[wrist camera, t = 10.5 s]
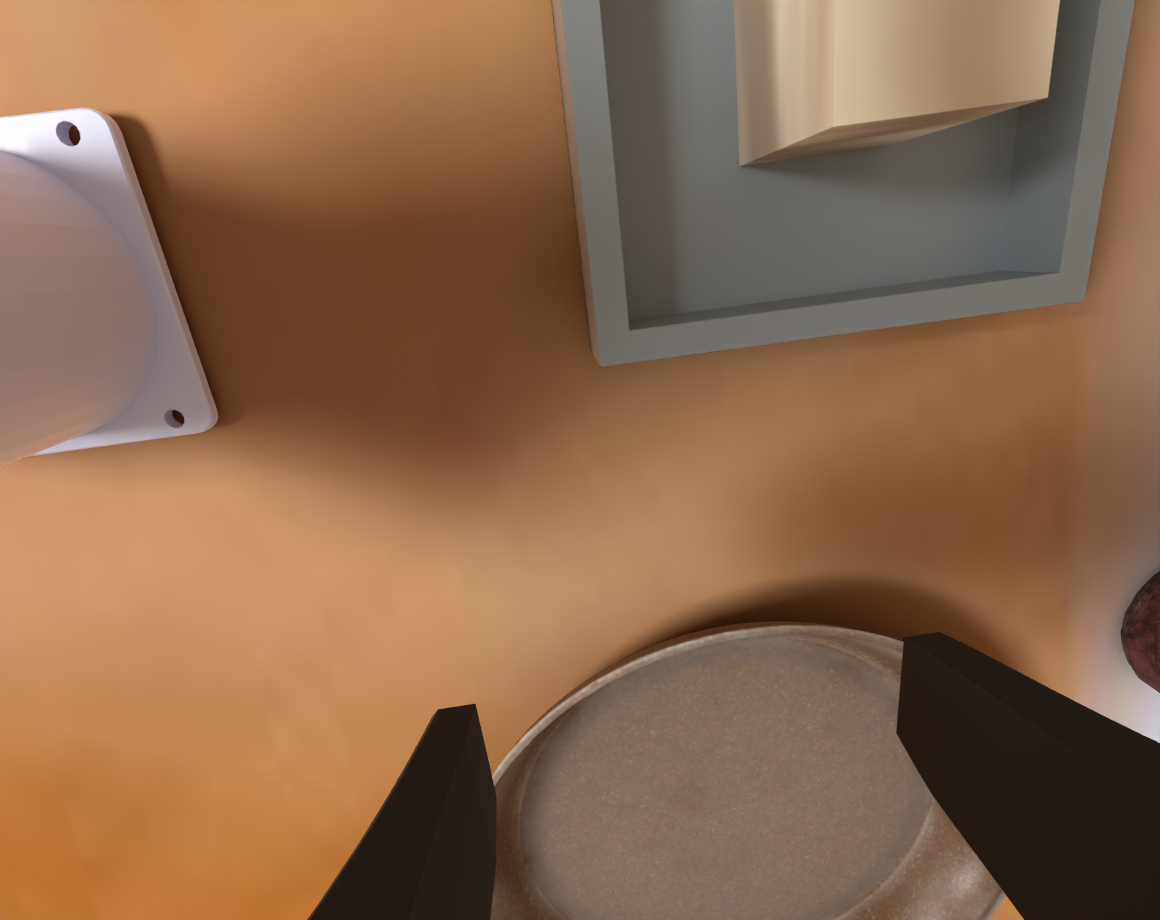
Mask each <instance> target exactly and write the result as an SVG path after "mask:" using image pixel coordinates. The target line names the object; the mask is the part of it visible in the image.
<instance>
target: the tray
mask: <svg viewBox="0 0 1160 920" xmlns="http://www.w3.org/2000/svg"><path fill="white" fill-rule="evenodd" d="M551 4H552V13H553V22H554V31H555V39H556V48H557V57H558V66H559V74H560V83H561V92H562V101H563V109H564V118H565V127H566V135H567V144H568V153H569V162H570V170H571V179H572V188H573V197H574V205H575V214H576V223H577V232H578V240H579V249H580V258H581V267H582V275H583V284H584V293H585V301H586V310H587V319H588V328H589V336H590V345H591V352H592V354H593V355H594V357H595V358H596V360H597V362H598V363H599V365H600V367H605V366H613V365H620V364H627V363H635V362H642V361H649V360H657V359H664V358H671V357H679V356H686V355H694V354H701V353H708V352H716V351H723V350H730V349H738V348H745V347H752V346H760V345H767V344H774V343H782V342H789V341H796V340H804V339H811V338H818V337H826V336H833V335H840V334H848V333H855V332H863V331H870V330H877V329H885V328H892V327H899V326H907V325H914V324H921V323H929V322H936V321H943V320H951V319H958V318H965V317H973V316H980V315H987V314H995V313H1002V312H1009V311H1017V310H1024V309H1032V308H1039V307H1046V306H1054V305H1061V304H1068V303H1076V302H1083V301H1085V295H1086V289H1087V283H1088V277H1089V272H1090V266H1091V260H1092V254H1093V248H1094V242H1095V236H1096V230H1097V224H1098V218H1099V212H1100V206H1101V200H1102V194H1103V188H1104V182H1105V176H1106V170H1107V164H1108V159H1109V153H1110V147H1111V141H1112V135H1113V129H1114V123H1115V117H1116V111H1117V105H1118V99H1119V93H1120V87H1121V81H1122V75H1123V69H1124V63H1125V57H1126V51H1127V46H1128V40H1129V34H1130V28H1131V22H1132V16H1133V10H1134V4H1135V0H1060V3H1059V11H1058V19H1057V27H1056V35H1055V44H1054V52H1053V60H1052V68H1051V76H1050V84H1049V92H1048V98H1045V99H1042V100H1038V101H1035V102H1032V103H1028V104H1025V105H1022V106H1019V107H1015V108H1012V109H1009V110H1005V111H1002V112H999V113H995V114H992V115H989V116H986V117H982V118H979V119H976V120H972V121H969V122H966V123H962V124H959V125H956V126H953V127H949V128H946V129H943V130H939V131H936V132H933V133H929V134H926V135H923V136H920V137H916V138H913V139H910V140H906V141H903V142H900V143H896V144H893V145H890V146H883V147H876V148H869V149H862V150H854V151H847V152H840V153H832V154H825V155H818V156H811V157H803V158H796V159H789V160H781V161H774V162H767V163H760V164H752V165H745V166H739V138H738V109H737V81H736V52H735V23H734V0H551Z"/></svg>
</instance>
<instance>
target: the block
mask: <svg viewBox="0 0 1160 920" xmlns="http://www.w3.org/2000/svg"><path fill="white" fill-rule="evenodd" d="M1059 3H1060V0H734V23H735V52H736V81H737V109H738V138H739V166H745V165H752V164H760V163H767V162H774V161H781V160H789V159H796V158H803V157H811V156H818V155H825V154H832V153H840V152H847V151H854V150H862V149H869V148H876V147H883V146H890V145H893V144H896V143H900V142H903V141H906V140H910V139H913V138H916V137H920V136H923V135H926V134H929V133H933V132H936V131H939V130H943V129H946V128H949V127H953V126H956V125H959V124H962V123H966V122H969V121H972V120H976V119H979V118H982V117H986V116H989V115H992V114H995V113H999V112H1002V111H1005V110H1009V109H1012V108H1015V107H1019V106H1022V105H1025V104H1028V103H1032V102H1035V101H1038V100H1042V99H1045V98H1048V92H1049V84H1050V76H1051V68H1052V60H1053V52H1054V44H1055V35H1056V27H1057V19H1058V11H1059Z"/></svg>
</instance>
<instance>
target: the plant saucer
mask: <svg viewBox="0 0 1160 920" xmlns="http://www.w3.org/2000/svg"><path fill="white" fill-rule="evenodd" d="M902 655H903V641H900V640H897V639H893V638H890V637H887V636H883V635H879V634H876V633H871V632H867V631H863V630H858V629H854V628H849V627H843V626H836V625H829V624H820V623H809V622H790V621H766V622H752V623H741V624H733V625H727V626H722V627H716V628H711V629H706V630H702V631H698V632H693V633H689V634H685V635H682V636H679V637H676V638H673V639H670V640H667V641H664V642H661V643H658V644H656V645H653V646H651V647H648V648H646V649H644V650H641V651H639V652H637V653H635V654H633V655H630V656H628V657H626V658H624V659H622V660H621V661H619V662H617V663H615V664H613V665H611V666H609V667H608V668H606V669H604V670H603V671H601V672H599V673H598V674H596V675H594V676H593V677H591V678H590V679H588V680H587V681H585V682H584V683H582V684H581V685H579V686H578V687H577V688H575V689H574V690H572V691H571V692H570V693H568V694H567V695H566V696H565V697H563V698H562V699H561V700H560V701H558V702H557V703H556V704H555V705H554V706H552V707H551V708H550V709H549V710H548V711H547V712H546V713H545V714H543V715H542V716H541V717H540V718H539V719H538V720H537V721H536V722H535V723H534V724H533V725H532V726H531V727H530V728H529V729H528V730H527V731H526V732H525V734H524V735H523V736H522V737H521V738H520V739H519V740H518V742H517V743H516V744H515V745H514V746H513V748H512V749H511V750H510V752H509V753H508V754H507V755H506V757H505V758H504V759H503V761H502V762H501V763H500V765H499V766H498V767H497V769H496V770H495V771H494V773H493V774H492V779H493V783H494V787H495V792H496V796H497V834H496V871H495V880H494V890H493V900H492V909H491V918H490V920H990V919H991V917H992V916H993V914H994V913H995V911H996V910H997V909H998V907H999V906H1000V904H1001V903H1002V901H1003V899H1004V897H1005V895H1006V894H1005V893H1004V892H1003V890H1002V889H1001V888H1000V886H999V885H998V884H997V882H996V881H995V880H994V878H993V877H992V875H991V874H990V873H989V871H988V870H987V869H986V867H985V866H984V865H983V863H982V862H981V861H980V859H979V858H978V857H977V855H976V854H975V853H974V851H973V850H972V849H971V847H970V846H969V845H968V843H967V842H966V841H965V839H964V838H963V837H962V835H961V834H960V832H959V831H958V830H957V828H956V827H955V826H954V824H953V823H952V822H951V820H950V819H949V817H948V816H947V815H946V813H945V812H944V811H943V809H942V808H941V806H940V805H939V804H938V802H937V801H936V800H935V798H934V797H933V795H932V794H931V792H930V791H929V789H928V787H927V786H926V784H925V782H924V781H923V779H922V777H921V776H920V774H919V772H918V771H917V769H916V767H915V766H914V764H913V762H912V760H911V758H910V757H909V755H908V753H907V751H906V750H905V748H904V746H903V744H902V742H901V741H900V739H899V737H898V735H897V734H896V729H897V716H898V704H899V692H900V679H901V667H902Z"/></svg>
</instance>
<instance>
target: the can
mask: <svg viewBox="0 0 1160 920" xmlns="http://www.w3.org/2000/svg"><path fill="white" fill-rule="evenodd" d="M1121 638H1122V646H1123V651H1124V653H1125V655H1126V658H1127V660H1128V662H1129V664H1130V666H1131V667H1132V669H1133V670H1134V672H1135V673H1136V675H1137V676H1138V678H1139V679H1141V680H1142V681H1144V682H1145V683H1146V684H1148V685H1149V686H1151V687H1152V688H1154V689H1155V690H1156V691H1158V692H1159V693H1160V572H1159V573H1157V574H1156V575H1154V576H1153V578H1152V579H1151V580H1150V581H1149V582H1148V583H1147V584H1146V585H1145V586H1144V587H1143V588H1142V589H1141V590H1140V591H1139V592H1138V593H1137V595H1136V596H1135V598H1134V600H1133V601H1132V603H1131V605H1130V606H1129V608H1128V610H1127V612H1126V613H1125V617H1124V621H1123V625H1122V629H1121Z"/></svg>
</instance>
